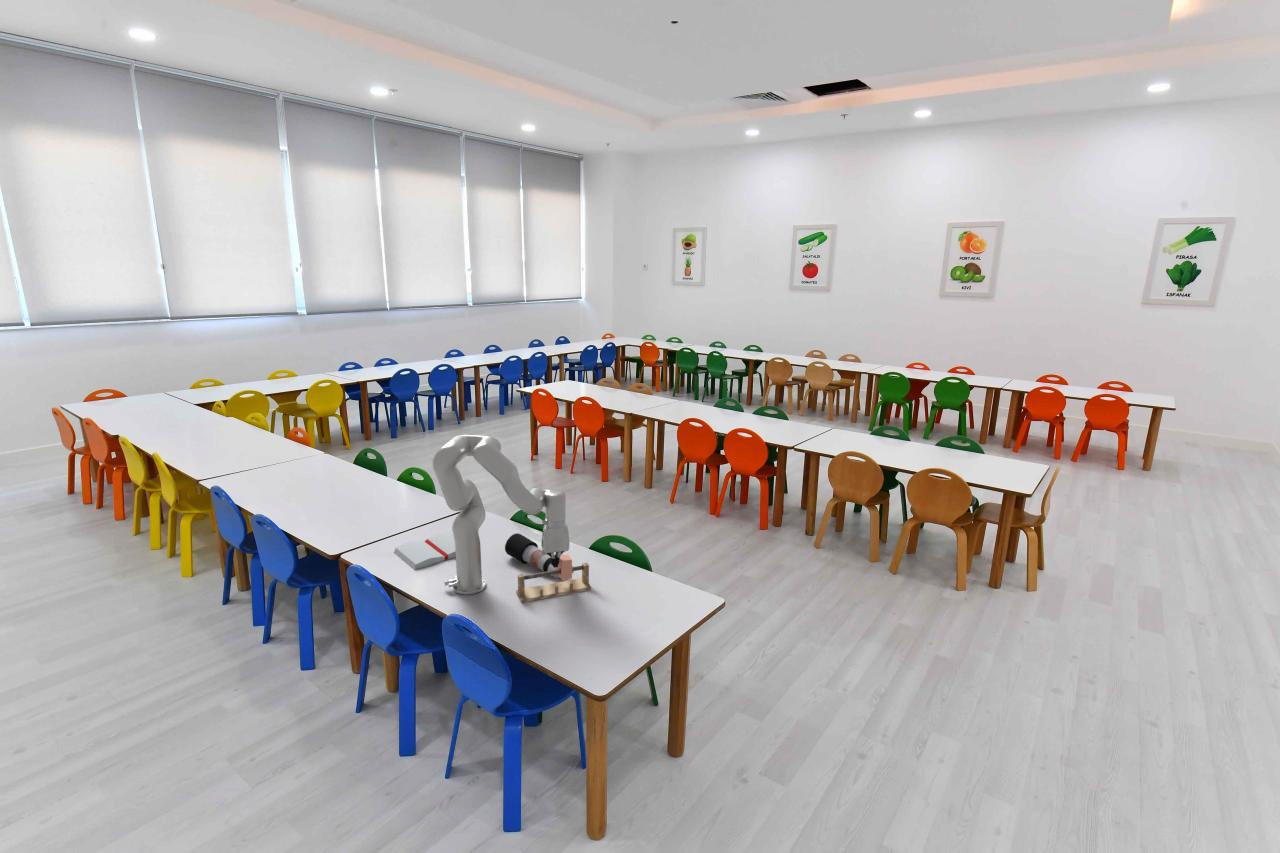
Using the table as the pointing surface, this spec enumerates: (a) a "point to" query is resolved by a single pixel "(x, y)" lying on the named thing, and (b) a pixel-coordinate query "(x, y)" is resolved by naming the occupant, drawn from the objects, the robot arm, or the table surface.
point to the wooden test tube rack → (553, 585)
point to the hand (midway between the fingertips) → (555, 565)
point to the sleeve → (565, 567)
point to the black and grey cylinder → (528, 553)
